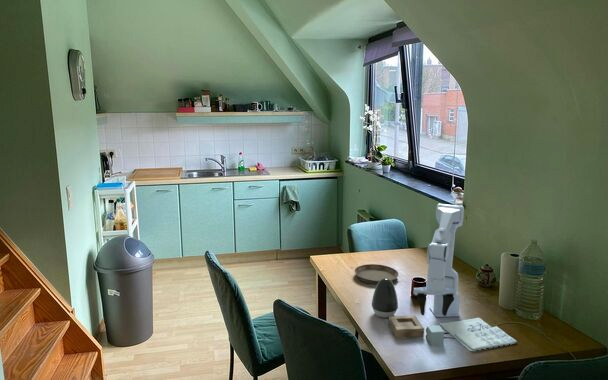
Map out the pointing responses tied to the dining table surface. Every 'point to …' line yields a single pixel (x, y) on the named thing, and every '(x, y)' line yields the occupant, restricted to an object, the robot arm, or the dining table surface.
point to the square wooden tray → (406, 326)
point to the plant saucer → (375, 273)
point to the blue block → (435, 335)
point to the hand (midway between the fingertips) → (433, 314)
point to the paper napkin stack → (477, 334)
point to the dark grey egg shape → (385, 299)
